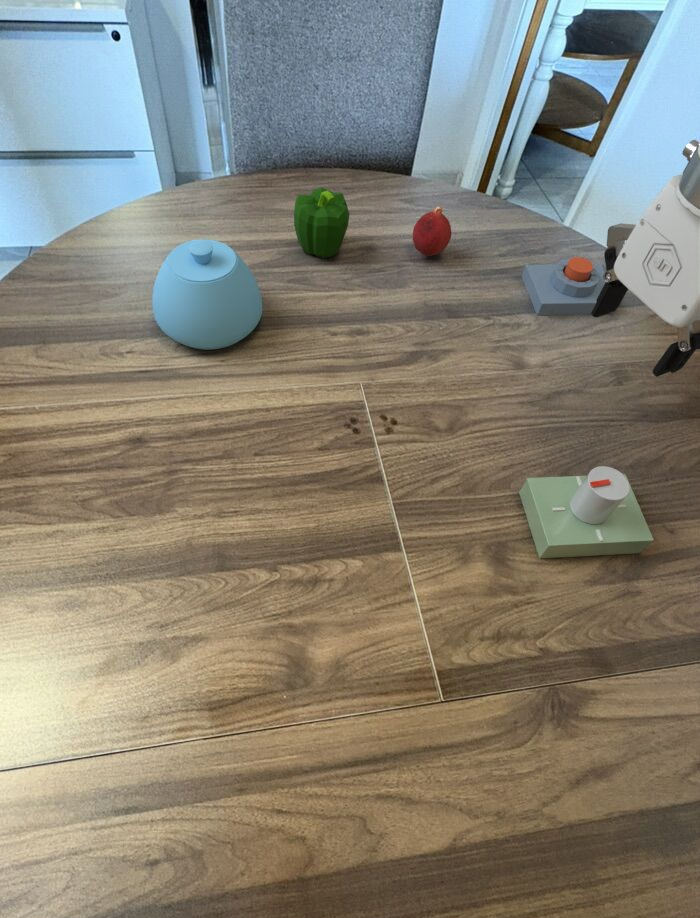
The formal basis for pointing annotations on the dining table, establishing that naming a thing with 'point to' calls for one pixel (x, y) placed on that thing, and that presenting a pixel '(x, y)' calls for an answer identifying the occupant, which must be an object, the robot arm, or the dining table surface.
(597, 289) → the button box
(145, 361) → the dining table surface
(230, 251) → the sugar bowl
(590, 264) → the stop button
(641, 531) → the tap panel
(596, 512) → the tap knob
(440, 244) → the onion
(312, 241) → the bell pepper
